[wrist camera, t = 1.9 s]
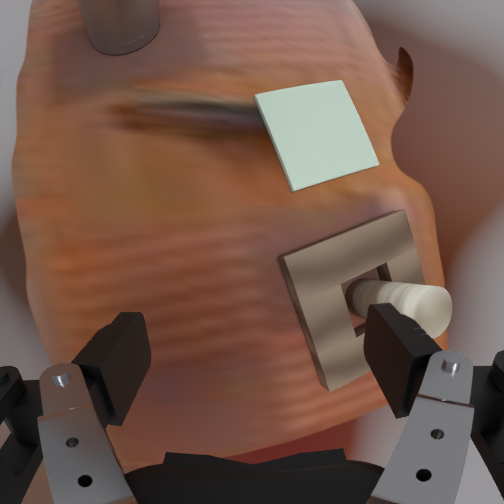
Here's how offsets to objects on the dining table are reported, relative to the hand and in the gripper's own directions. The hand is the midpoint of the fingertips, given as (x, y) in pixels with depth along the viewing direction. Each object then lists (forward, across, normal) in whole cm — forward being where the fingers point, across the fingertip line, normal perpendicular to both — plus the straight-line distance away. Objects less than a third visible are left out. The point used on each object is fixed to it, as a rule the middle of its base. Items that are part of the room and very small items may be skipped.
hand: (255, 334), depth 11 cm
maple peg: (+23, -12, +9) cm, 28 cm away
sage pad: (+28, -8, -10) cm, 31 cm away
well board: (+23, -12, +9) cm, 28 cm away
